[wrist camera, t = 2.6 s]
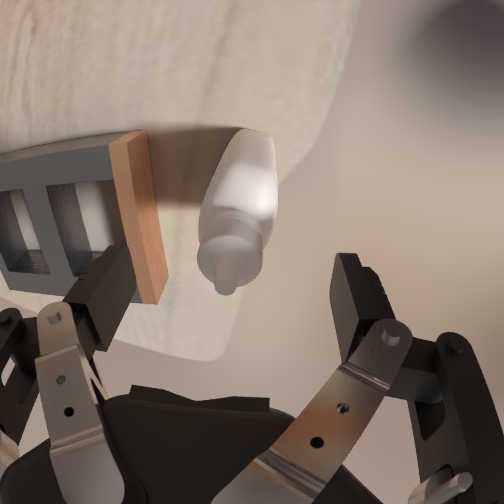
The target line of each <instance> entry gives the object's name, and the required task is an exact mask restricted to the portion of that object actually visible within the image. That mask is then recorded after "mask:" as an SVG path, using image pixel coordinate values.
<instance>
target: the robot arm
mask: <svg viewBox="0 0 504 504" xmlns="http://www.w3.org/2000/svg"><path fill="white" fill-rule="evenodd" d="M136 285H137V281H136V275H135V271H134V267H133V262H132V258H131V253H130V250H129V248H128V246H117V245H110V246H108V247H107V249H106V250H105V251H104V253H103V254H102V255H101V257H97V258H96V259H95V260H93V261H92V262H91V263H89V264H88V265H87V267H86V268H85V269H84V271H83V273H82V274H81V275H80V276H79V278H78V281H77V280H76V282H75V283H74V285H73V286H72V287H71V289H70V290H69V292H68V293H67V295H66V296H65V297H64V299H63V300H62V302H54V303H51V304H49V305H47V306H45V307H44V308H43V309H42V310H41V311H40V312H39V314H38V316H37V317H33V318H24V319H23V317H22V315H21V313H20V311H19V310H18V309H16V308H8V309H5V310H3V311H1V312H0V504H383V503H382V502H381V501H380V500H379V499H378V498H377V497H376V496H375V495H374V494H372V493H371V492H370V491H369V490H368V489H367V488H366V487H365V486H364V485H363V484H362V483H361V482H360V481H359V480H358V479H357V478H356V477H355V476H354V475H353V474H352V473H351V472H350V471H349V470H347V468H345V466H344V465H343V464H342V463H343V461H344V460H345V458H346V457H347V456H348V454H349V453H350V451H351V450H352V448H353V447H354V445H355V444H356V442H357V441H358V439H359V438H360V436H361V435H362V433H363V432H364V430H365V428H366V427H367V425H368V424H369V422H370V420H371V419H372V417H373V415H374V414H375V412H376V410H377V409H378V407H379V405H380V403H381V402H382V400H383V399H384V397H385V396H389V397H394V398H399V399H404V400H407V402H408V408H409V413H410V418H411V423H412V429H413V435H414V441H415V447H416V454H417V460H418V468H419V475H420V483H421V484H420V485H418V486H417V487H416V488H415V489H414V490H413V491H412V492H411V494H410V496H409V499H408V504H504V435H503V431H502V428H501V424H500V421H499V418H498V415H497V412H496V409H495V406H494V403H493V400H492V397H491V395H490V392H489V389H488V386H487V384H486V381H485V378H484V376H483V373H482V370H481V368H480V366H479V363H478V361H477V358H476V356H475V354H474V351H473V349H472V346H471V345H470V343H469V342H468V341H467V339H465V338H464V337H463V336H461V335H459V334H457V333H454V332H445V333H442V334H441V335H440V336H439V337H438V338H437V340H436V342H432V341H428V340H423V339H419V338H415V337H413V335H412V333H411V331H410V329H409V328H408V327H407V326H406V325H405V324H403V323H402V322H400V321H397V320H396V318H395V315H394V313H393V310H392V308H391V305H390V303H389V301H388V298H387V295H386V294H385V291H384V288H383V286H382V284H381V282H380V279H379V276H378V275H377V274H376V273H375V272H374V271H373V270H372V269H371V268H370V267H362V265H361V262H360V260H359V258H358V255H357V254H356V253H337V254H336V257H335V263H334V268H333V273H332V279H331V284H330V304H331V309H332V313H333V318H334V323H335V329H336V333H337V339H338V344H339V349H340V355H341V361H342V363H341V364H340V365H339V367H338V368H337V369H336V371H335V372H334V373H333V374H332V375H331V377H330V378H329V379H328V381H327V382H326V383H325V385H324V386H323V387H322V388H321V389H320V391H319V392H318V393H317V394H316V396H315V397H314V398H313V399H312V401H311V402H310V403H309V404H308V405H307V406H306V408H305V409H304V410H303V411H302V412H301V414H300V415H299V416H298V417H297V418H295V417H293V416H291V415H289V414H287V413H285V412H283V411H280V410H277V409H273V408H270V407H269V401H270V398H260V397H237V396H232V397H226V398H219V399H211V400H203V401H194V400H191V399H188V398H185V397H183V396H180V395H176V394H174V393H172V392H169V391H166V390H164V389H157V388H150V387H144V386H137V385H132V387H131V389H130V393H129V394H125V395H119V396H116V397H112V398H109V396H108V394H107V392H106V389H105V386H104V384H103V381H102V378H101V375H100V373H99V370H98V367H97V364H96V361H95V359H94V357H93V354H94V352H95V350H98V351H104V352H107V350H108V348H109V346H110V343H111V341H112V339H113V337H114V335H115V333H116V330H117V328H118V326H119V324H120V322H121V320H122V318H123V316H124V314H125V312H126V310H127V308H128V305H129V303H130V301H131V299H132V297H133V295H134V293H135V291H136ZM10 357H11V359H12V360H13V362H14V363H15V367H14V369H13V370H12V373H11V374H10V377H9V379H8V380H7V383H6V385H5V386H4V385H3V383H2V379H1V374H2V371H3V369H4V367H5V365H6V364H7V362H8V360H9V358H10ZM39 391H40V396H41V402H42V407H43V412H44V416H45V421H46V425H47V429H48V433H49V437H50V438H48V439H47V440H45V441H44V442H42V443H41V444H40V445H38V446H37V447H35V448H34V449H32V450H31V451H29V452H27V453H26V454H24V455H23V456H21V457H20V458H19V449H18V446H19V443H20V440H21V437H22V434H23V431H24V429H25V426H26V423H27V421H28V418H29V416H30V413H31V411H32V408H33V406H34V403H35V400H36V398H37V396H38V393H39Z"/></svg>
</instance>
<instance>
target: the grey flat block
mask: <svg viewBox="0 0 504 504" xmlns="http://www.w3.org/2000/svg"><path fill="white" fill-rule="evenodd" d="M102 180H114V183H115V188H116V194H117V199H118V204H119V209H120V214H121V219H122V223H123V228H124V233H125V237H126V241H127V246H128V248H129V250H130V253H131V258H132V262H133V267H134V271H135V275H136V281H137V285H136V291H135V293H134V295H133V297H132V299H131V301H130V303H143V304H158V302H159V299H160V296H161V294H162V291H163V289H164V286H165V284H166V281H167V279H168V270H167V265H166V260H165V254H164V248H163V243H162V237H161V231H160V225H159V218H158V212H157V205H156V198H155V191H154V184H153V176H152V168H151V160H150V151H149V142H148V132H147V130H139V131H129V132H120V133H112V134H105V135H97V136H90V137H84V138H78V139H71V140H66V141H60V142H55V143H49V144H44V145H39V146H35V147H30V148H25V149H21V150H17V151H13V152H8V153H4V154H0V270H1V272H2V274H3V277H4V279H5V281H6V283H7V285H8V287H9V289H10V290H16V291H24V292H32V293H40V294H48V295H56V296H66V295H67V293H68V292H69V290H70V289H71V287H72V286H73V285H74V283H75V282H76V280H77V281H78V278H79V276H80V275H81V274H82V273H83V271H84V269H85V268H86V267H87V265H88V264H89V263H91V262H92V261H93V260H95V259H96V258H97V257H101V255H102V254H103V253H104V252H91V248H90V245H89V241H88V238H87V234H86V231H85V227H84V223H83V219H82V216H81V212H80V208H79V204H78V199H77V195H76V191H75V186H74V183H78V182H90V181H102ZM16 189H23V193H24V196H25V200H26V204H27V207H28V210H29V214H30V217H31V220H32V223H33V226H34V230H35V233H36V236H37V238H38V241H39V244H40V247H41V250H42V251H38V250H27V247H26V244H25V242H24V239H23V236H22V233H21V230H20V227H19V224H18V221H17V218H16V215H15V212H14V208H13V205H12V202H11V198H10V195H9V191H8V190H16Z"/></svg>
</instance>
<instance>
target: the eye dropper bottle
mask: <svg viewBox="0 0 504 504" xmlns="http://www.w3.org/2000/svg"><path fill="white" fill-rule="evenodd" d="M277 202H278V191H277V174H276V161H275V151H274V143H273V140H272V138H271V136H269V135H267V134H265V133H261V132H257V131H254V130H249V129H241V130H239V131H238V132H237V133H236V134H235V135H234V136H233V138H232V139H231V141H230V142H229V144H228V145H227V147H226V149H225V151H224V153H223V155H222V158H221V160H220V162H219V164H218V166H217V169H216V171H215V173H214V175H213V177H212V180H211V182H210V184H209V187H208V189H207V192H206V194H205V197H204V200H203V203H202V206H201V210H200V216H199V225H198V233H199V241H200V247H199V250H198V254H197V262H198V263H197V264H198V267H199V269H200V270H201V272H202V274H203V275H204V276H205V277H206V278H207V279H208V280H210V281H211V282H213V283H214V285H215V290H216V291H217V292H218V293H219V294H221V295H230V294H232V293H234V291H235V289H236V287H240V286H243V285H246V284H248V283H250V282H251V281H253V280H254V279H255V278H256V277H257V275H258V274H259V272H260V270H261V267H262V258H263V257H262V256H263V255H262V254H263V250H264V248H265V246H266V245H267V243H268V241H269V239H270V236H271V233H272V231H273V227H274V224H275V219H276V213H277Z"/></svg>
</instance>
